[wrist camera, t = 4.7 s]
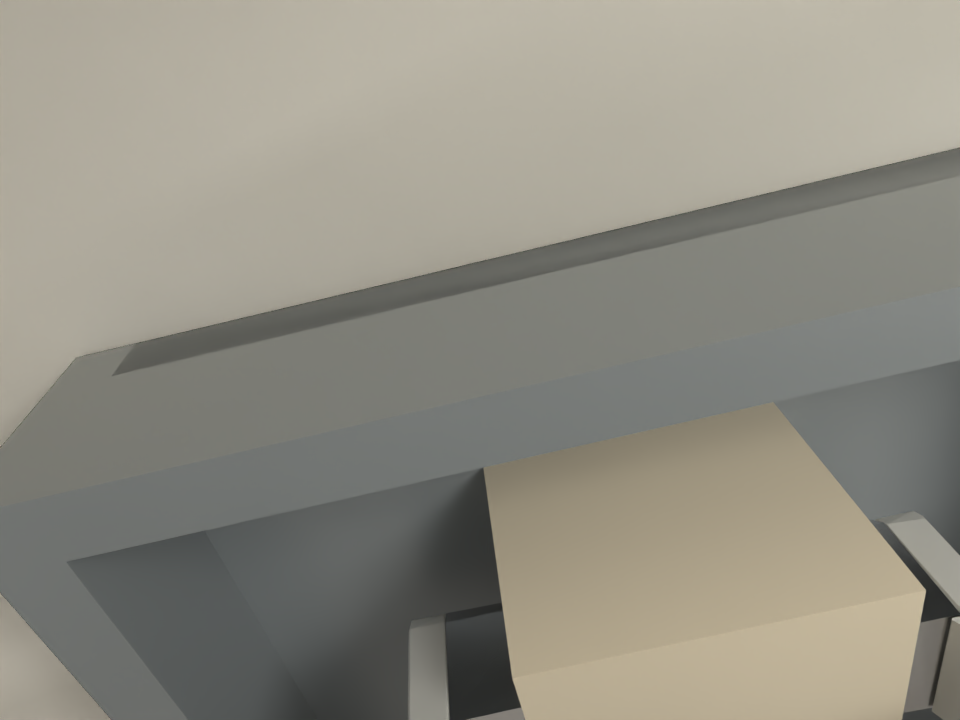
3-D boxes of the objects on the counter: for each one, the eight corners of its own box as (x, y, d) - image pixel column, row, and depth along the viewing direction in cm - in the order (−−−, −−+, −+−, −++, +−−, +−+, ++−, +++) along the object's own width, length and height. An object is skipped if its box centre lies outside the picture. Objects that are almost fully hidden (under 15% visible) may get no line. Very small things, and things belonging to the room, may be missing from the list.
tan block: (483, 465, 9) (512, 679, 7) (772, 400, 9) (926, 590, 6) (537, 660, 12) (576, 879, 9) (770, 611, 11) (883, 817, 9)
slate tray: (76, 357, 9) (-63, 521, 6) (1131, 107, 8) (1453, 172, 6) (402, 882, 17) (400, 1049, 14) (950, 771, 16) (1051, 923, 14)
